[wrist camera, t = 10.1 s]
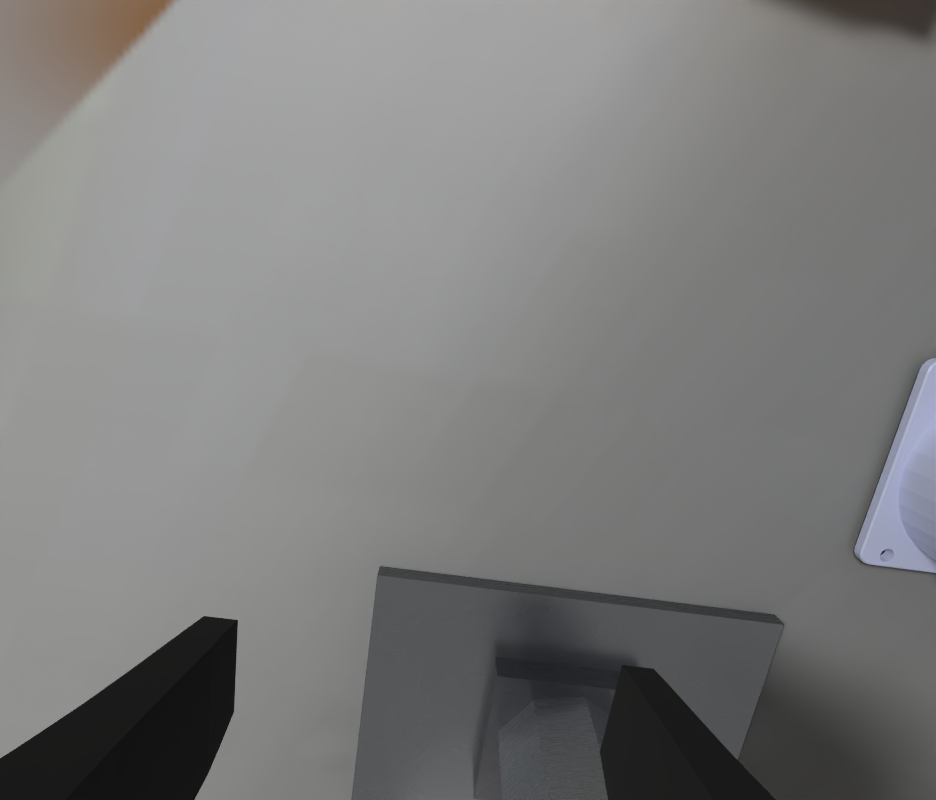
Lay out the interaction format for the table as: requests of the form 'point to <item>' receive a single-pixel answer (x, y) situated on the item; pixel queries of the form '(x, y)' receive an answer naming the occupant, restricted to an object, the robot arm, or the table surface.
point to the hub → (554, 751)
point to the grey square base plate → (529, 672)
